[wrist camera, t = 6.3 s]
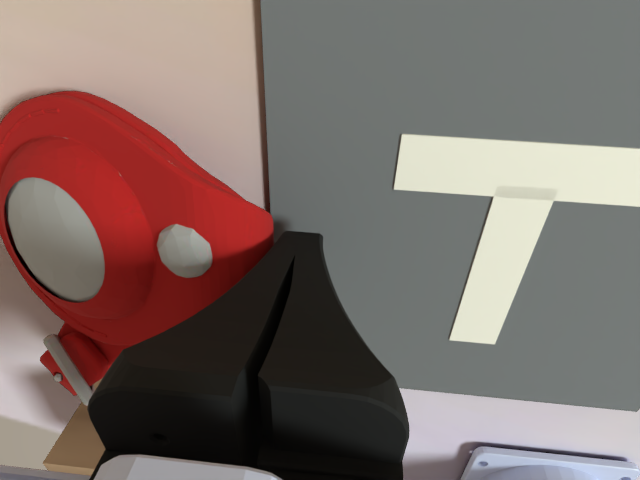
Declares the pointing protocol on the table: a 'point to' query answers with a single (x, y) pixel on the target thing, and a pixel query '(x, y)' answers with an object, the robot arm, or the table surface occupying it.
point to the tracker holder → (115, 229)
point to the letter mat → (469, 185)
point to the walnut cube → (76, 445)
